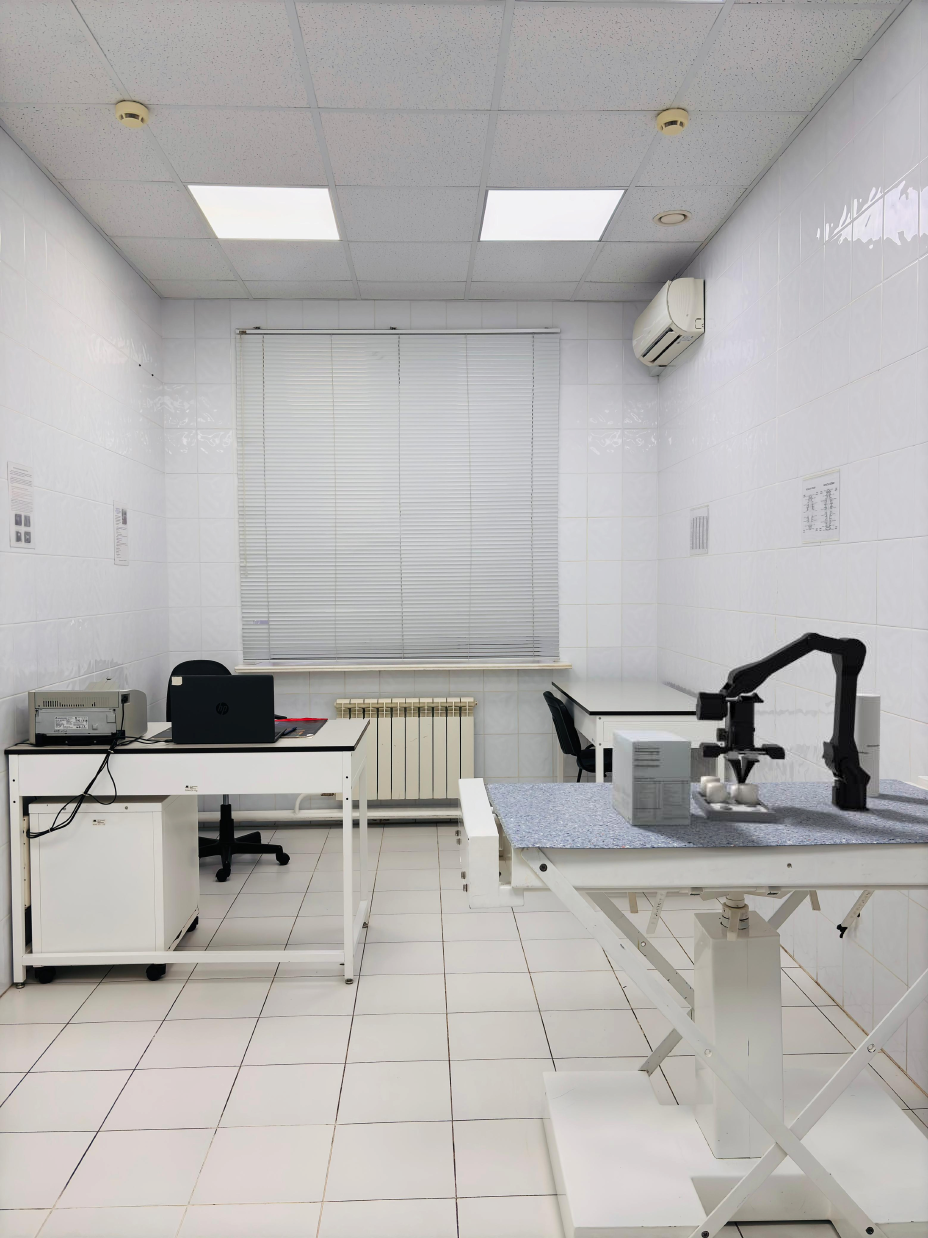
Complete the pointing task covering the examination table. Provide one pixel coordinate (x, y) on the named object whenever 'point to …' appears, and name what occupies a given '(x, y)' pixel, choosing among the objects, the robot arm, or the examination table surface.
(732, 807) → the button board
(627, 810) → the supplement box
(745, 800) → the button
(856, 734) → the cylindrical container
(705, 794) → the button
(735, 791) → the button
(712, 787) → the button
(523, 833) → the examination table surface
